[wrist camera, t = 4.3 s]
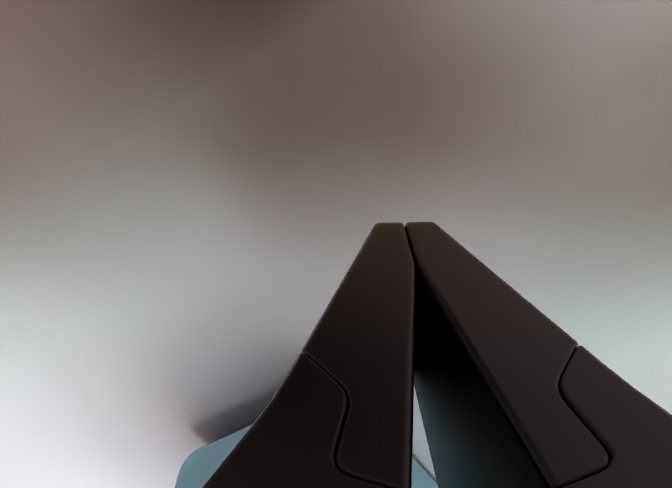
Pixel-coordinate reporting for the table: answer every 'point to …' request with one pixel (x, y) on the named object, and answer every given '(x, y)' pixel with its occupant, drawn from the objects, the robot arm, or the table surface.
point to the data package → (214, 453)
